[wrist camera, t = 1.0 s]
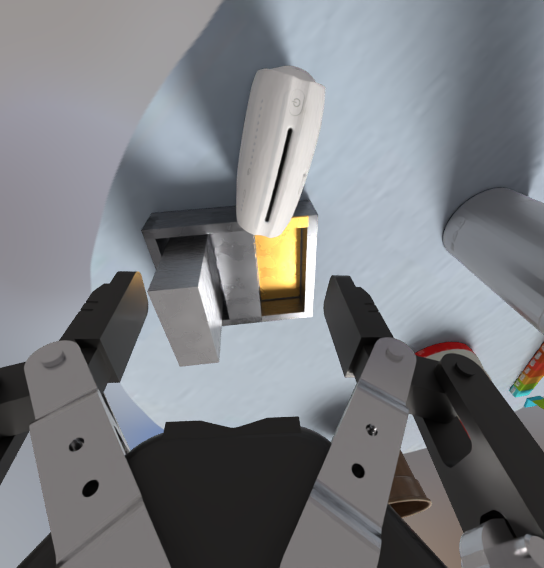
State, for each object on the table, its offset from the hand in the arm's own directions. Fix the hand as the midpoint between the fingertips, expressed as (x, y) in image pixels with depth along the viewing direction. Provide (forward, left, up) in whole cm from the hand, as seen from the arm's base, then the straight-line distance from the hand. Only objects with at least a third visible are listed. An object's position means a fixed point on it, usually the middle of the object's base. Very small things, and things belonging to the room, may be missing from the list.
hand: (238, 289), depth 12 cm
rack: (+1, +11, -19) cm, 22 cm away
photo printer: (-3, -3, -20) cm, 20 cm away
